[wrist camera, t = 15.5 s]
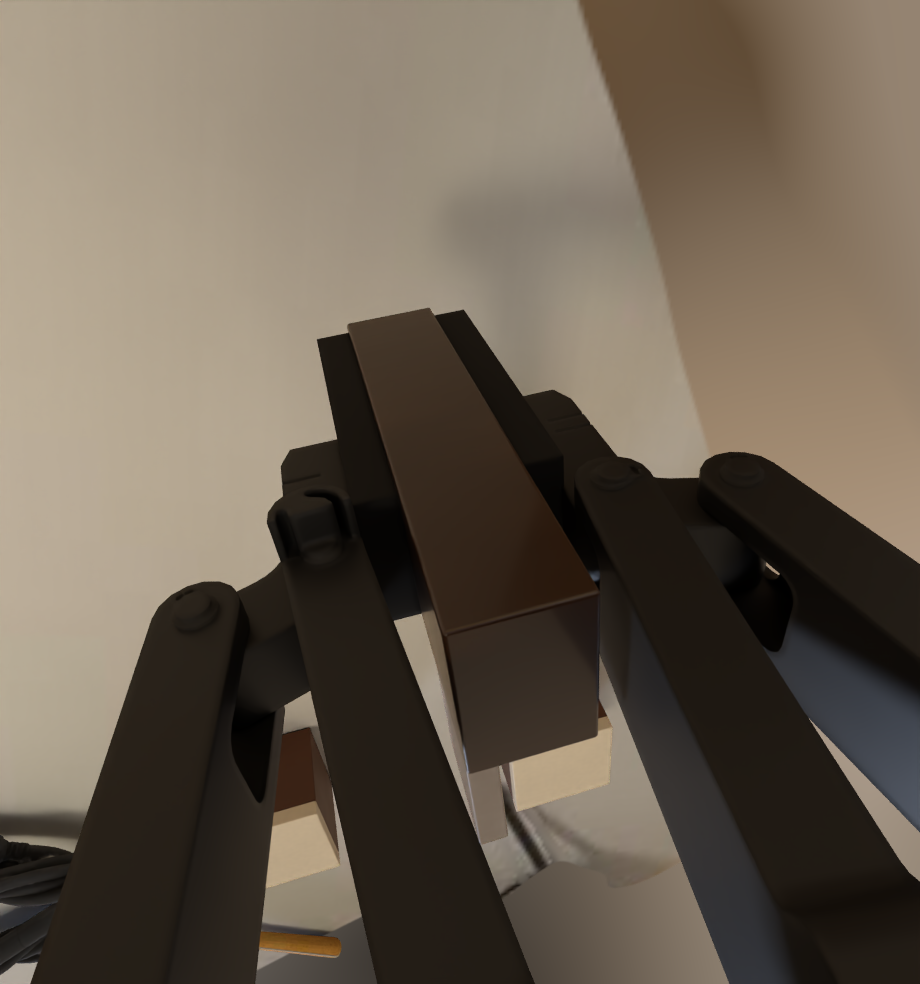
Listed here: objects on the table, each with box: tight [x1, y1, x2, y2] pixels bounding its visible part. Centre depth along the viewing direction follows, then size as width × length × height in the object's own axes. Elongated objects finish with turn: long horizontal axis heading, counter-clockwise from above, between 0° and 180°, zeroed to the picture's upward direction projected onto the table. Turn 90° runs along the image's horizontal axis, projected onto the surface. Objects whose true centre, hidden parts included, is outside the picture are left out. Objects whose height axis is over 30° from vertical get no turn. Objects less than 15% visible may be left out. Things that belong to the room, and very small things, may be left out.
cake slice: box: [266, 728, 340, 888], centre depth 40 cm, size 5×6×6 cm
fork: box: [259, 931, 341, 958], centre depth 51 cm, size 2×2×20 cm
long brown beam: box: [347, 308, 600, 844], centre depth 17 cm, size 2×17×10 cm, turn 6°
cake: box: [501, 701, 613, 811], centre depth 42 cm, size 6×6×6 cm
